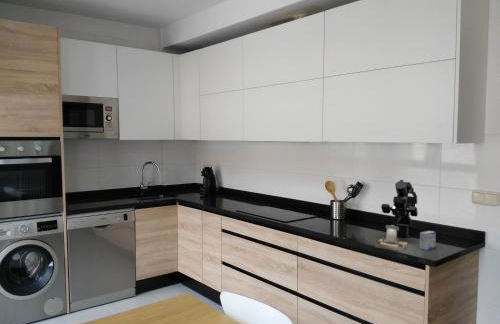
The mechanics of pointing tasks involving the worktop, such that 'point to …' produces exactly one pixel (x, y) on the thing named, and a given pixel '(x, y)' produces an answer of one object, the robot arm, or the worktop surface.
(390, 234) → the white plastic container
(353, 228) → the worktop surface
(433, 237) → the medicine box
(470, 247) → the worktop surface
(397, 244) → the tribrach base
